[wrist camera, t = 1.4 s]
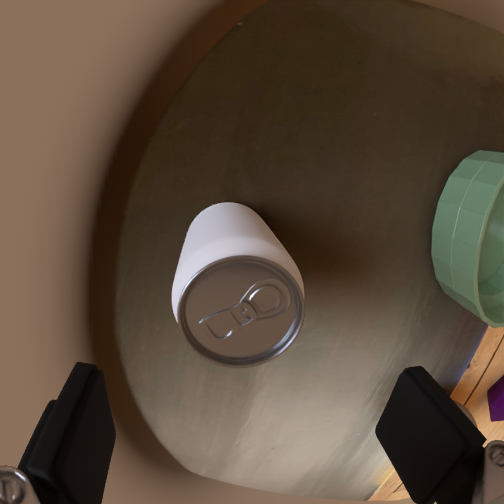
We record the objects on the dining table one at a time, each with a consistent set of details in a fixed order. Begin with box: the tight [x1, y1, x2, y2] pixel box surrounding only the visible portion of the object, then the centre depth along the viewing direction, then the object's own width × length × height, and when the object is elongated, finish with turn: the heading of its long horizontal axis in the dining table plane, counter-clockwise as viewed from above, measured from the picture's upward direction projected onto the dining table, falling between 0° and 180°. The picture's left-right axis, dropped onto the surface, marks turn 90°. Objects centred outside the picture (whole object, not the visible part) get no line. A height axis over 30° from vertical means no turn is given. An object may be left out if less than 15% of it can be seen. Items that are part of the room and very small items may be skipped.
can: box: [172, 202, 305, 368], centre depth 19 cm, size 6×6×12 cm
